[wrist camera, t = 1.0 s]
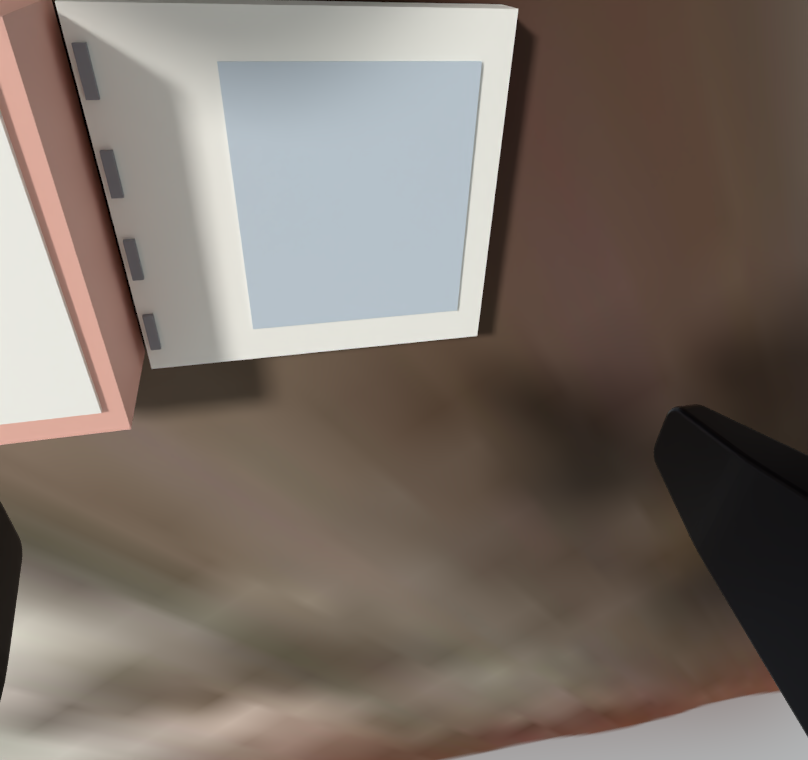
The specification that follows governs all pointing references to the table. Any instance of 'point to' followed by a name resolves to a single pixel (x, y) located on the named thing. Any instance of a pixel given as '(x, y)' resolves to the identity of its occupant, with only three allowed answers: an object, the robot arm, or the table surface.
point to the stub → (56, 251)
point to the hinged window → (295, 166)
